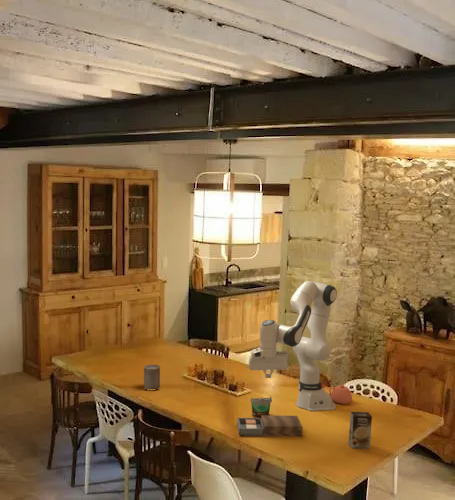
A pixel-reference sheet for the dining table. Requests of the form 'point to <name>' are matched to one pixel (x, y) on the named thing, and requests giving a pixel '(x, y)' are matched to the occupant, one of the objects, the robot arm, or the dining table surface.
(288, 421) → the block
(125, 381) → the dining table surface
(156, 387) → the smart speaker
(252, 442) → the dining table surface
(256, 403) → the food container
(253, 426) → the cream block
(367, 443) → the coffee box
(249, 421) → the terracotta tile
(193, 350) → the dining table surface
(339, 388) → the sugar bowl
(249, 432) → the bin
